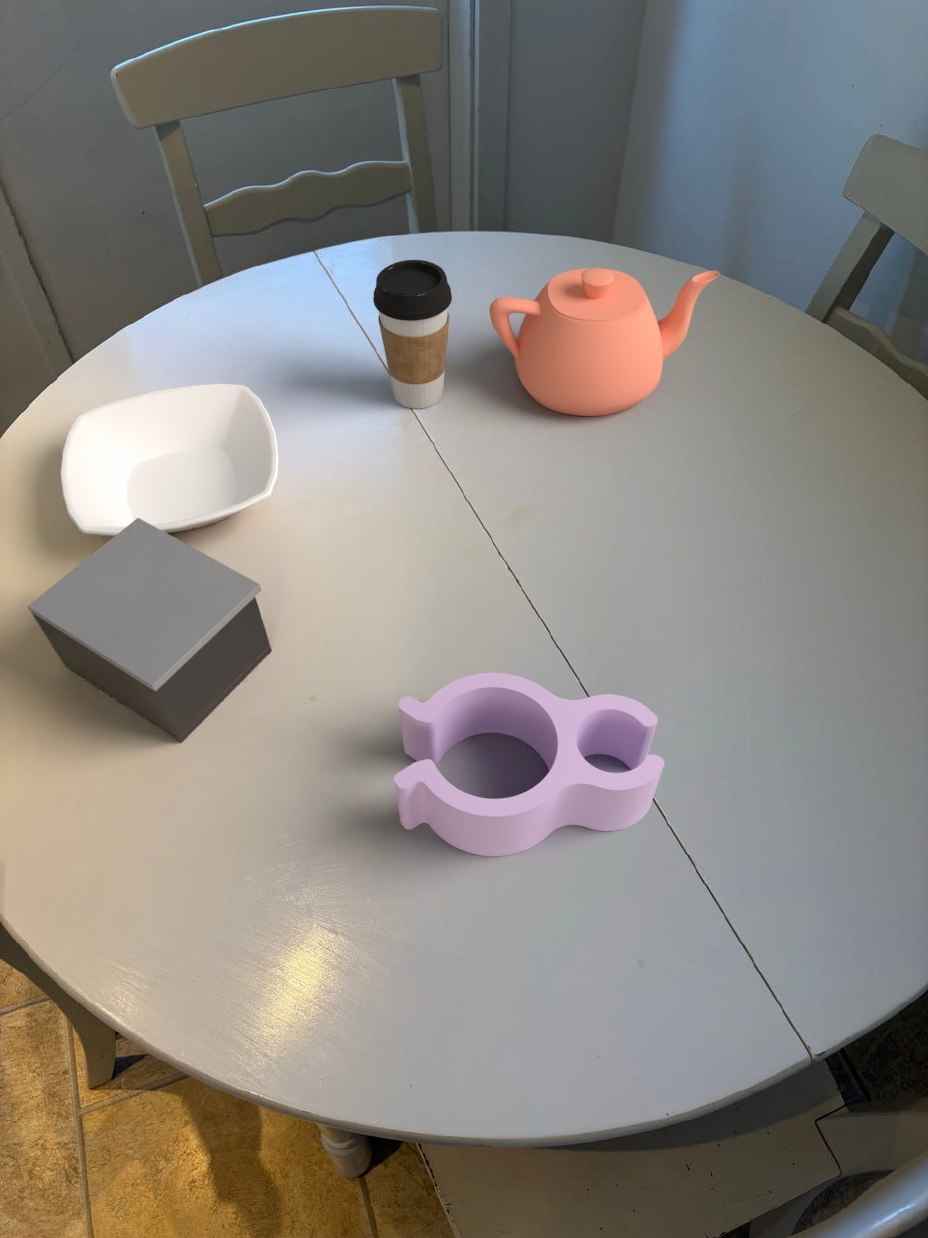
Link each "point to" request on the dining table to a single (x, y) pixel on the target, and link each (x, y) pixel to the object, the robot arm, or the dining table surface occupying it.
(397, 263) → the coffee cup
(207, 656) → the grey hinged lid box
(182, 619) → the box lid
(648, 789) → the clip
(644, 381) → the teapot
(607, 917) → the dining table surface
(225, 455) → the bowl
